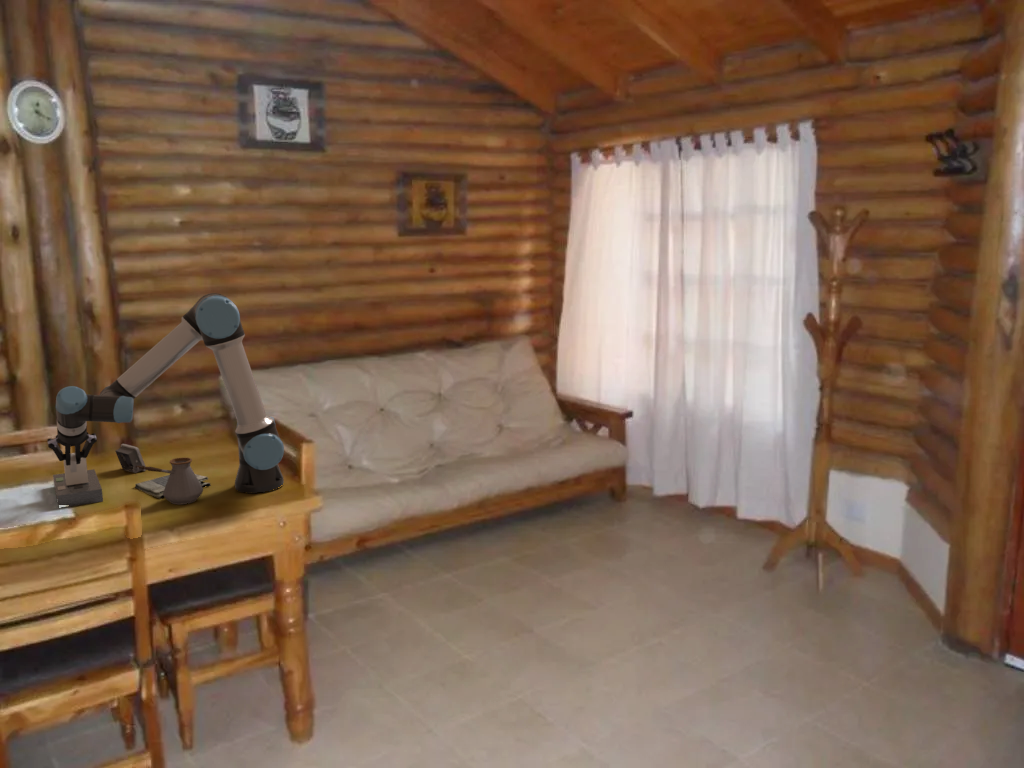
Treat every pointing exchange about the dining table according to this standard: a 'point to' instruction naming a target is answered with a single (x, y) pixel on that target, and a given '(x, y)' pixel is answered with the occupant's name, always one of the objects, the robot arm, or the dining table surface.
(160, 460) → the dining table surface
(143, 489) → the dish towel
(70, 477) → the handle
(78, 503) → the box
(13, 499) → the dining table surface
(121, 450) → the electrical switch
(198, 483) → the coffee pot
